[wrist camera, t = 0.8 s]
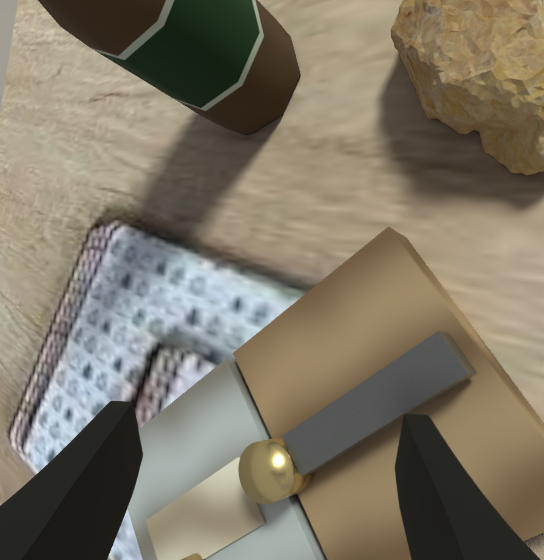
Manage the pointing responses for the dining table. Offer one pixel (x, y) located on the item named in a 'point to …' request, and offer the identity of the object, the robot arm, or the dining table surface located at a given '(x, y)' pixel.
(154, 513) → the door mockup
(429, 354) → the bar
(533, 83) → the stone tool
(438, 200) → the dining table surface
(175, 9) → the beer bottle
